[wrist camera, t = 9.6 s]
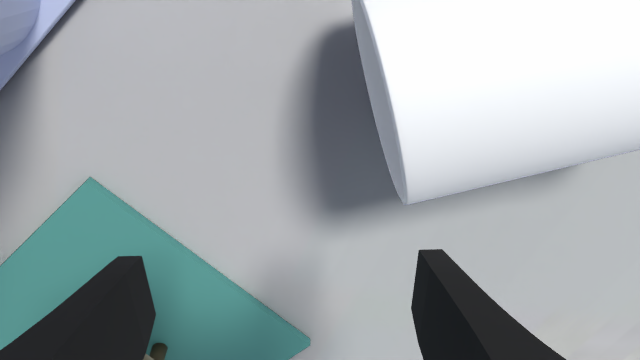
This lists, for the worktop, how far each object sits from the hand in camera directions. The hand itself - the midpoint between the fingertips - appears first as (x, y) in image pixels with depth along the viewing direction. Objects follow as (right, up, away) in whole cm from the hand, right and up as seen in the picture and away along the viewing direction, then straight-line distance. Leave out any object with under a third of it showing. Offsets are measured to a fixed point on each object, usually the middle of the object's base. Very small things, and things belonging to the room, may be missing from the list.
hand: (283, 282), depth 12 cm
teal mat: (-11, -7, +15) cm, 20 cm away
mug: (+15, +8, +5) cm, 18 cm away
